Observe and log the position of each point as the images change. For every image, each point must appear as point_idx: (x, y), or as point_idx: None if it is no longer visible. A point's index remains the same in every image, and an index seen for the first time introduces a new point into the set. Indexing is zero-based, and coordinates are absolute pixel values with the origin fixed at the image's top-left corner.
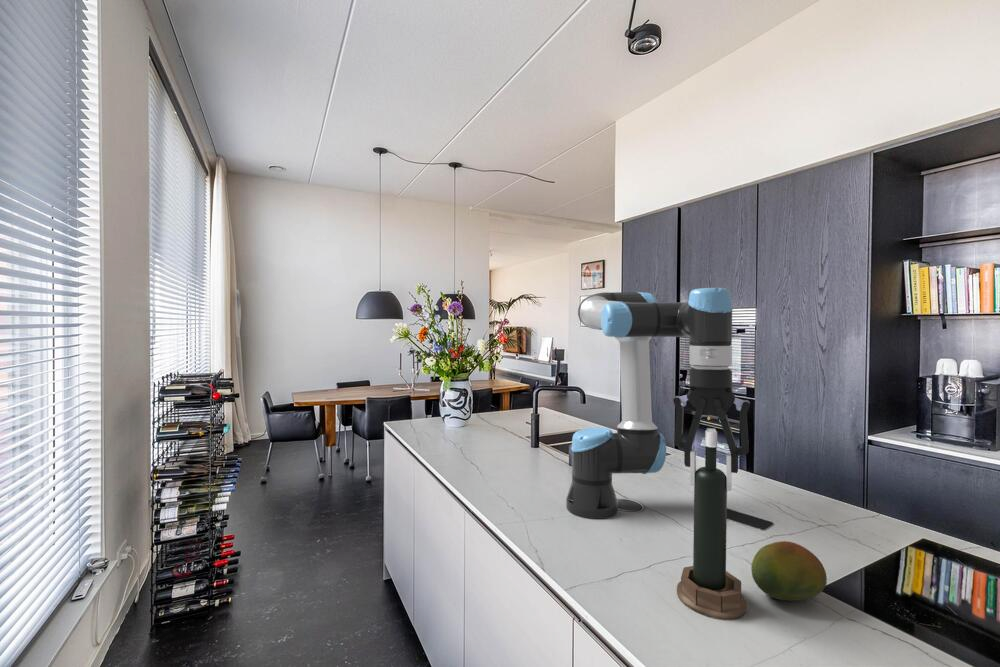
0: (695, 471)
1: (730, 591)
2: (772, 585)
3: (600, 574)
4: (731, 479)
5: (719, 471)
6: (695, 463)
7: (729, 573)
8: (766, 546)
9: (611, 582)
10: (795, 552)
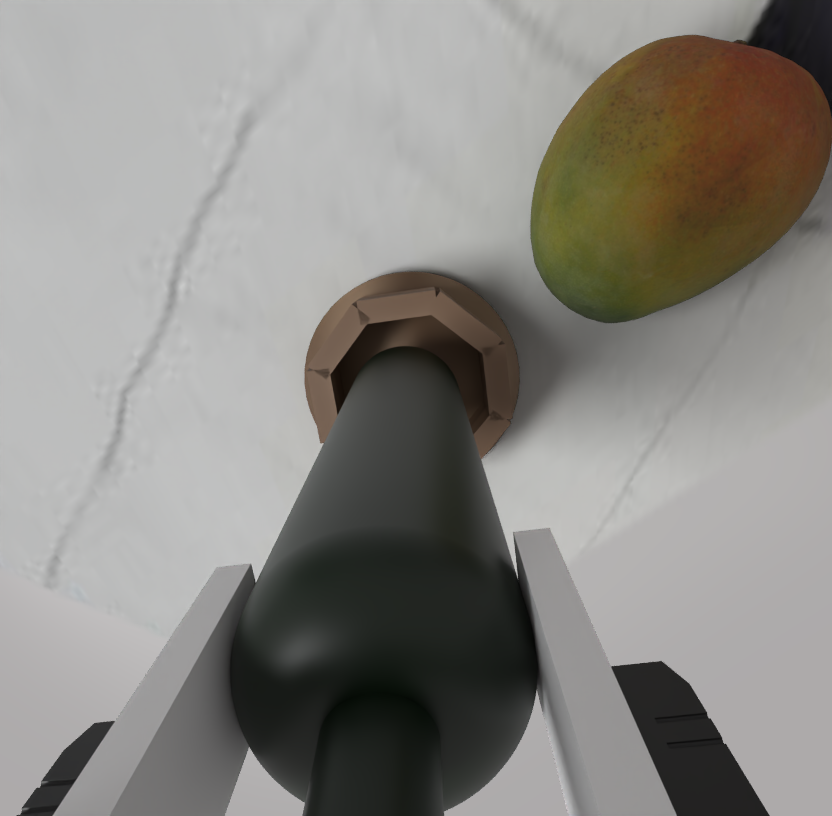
0: (223, 668)
1: (481, 434)
2: (609, 322)
3: (73, 453)
4: (566, 569)
5: (479, 752)
6: (187, 742)
7: (459, 308)
8: (614, 163)
9: (126, 476)
10: (749, 200)
